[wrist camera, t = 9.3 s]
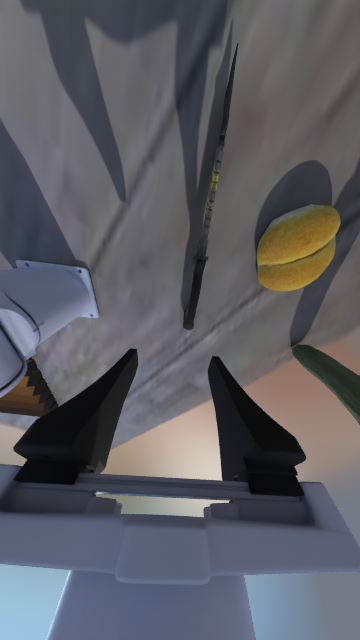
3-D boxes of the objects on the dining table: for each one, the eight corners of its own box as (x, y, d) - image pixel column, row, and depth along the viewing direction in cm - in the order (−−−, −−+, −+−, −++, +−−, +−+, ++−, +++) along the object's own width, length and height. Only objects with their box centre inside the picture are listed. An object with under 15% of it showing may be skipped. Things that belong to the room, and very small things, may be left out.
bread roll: (255, 294, 20) (271, 305, 16) (250, 227, 15) (269, 222, 12) (318, 275, 18) (349, 283, 15) (331, 194, 14) (380, 178, 10)
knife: (214, 99, 12) (234, 5, 8) (230, 102, 12) (259, 10, 8) (183, 320, 22) (183, 335, 17) (191, 321, 22) (194, 337, 18)
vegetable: (281, 339, 24) (531, 583, 7) (308, 329, 23) (699, 597, 6) (287, 354, 26) (494, 575, 9) (311, 345, 25) (614, 584, 7)
